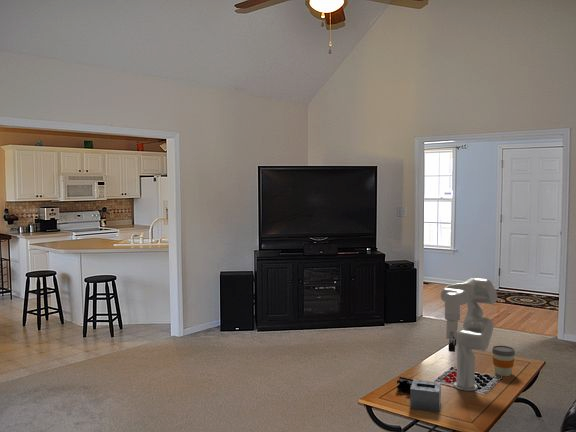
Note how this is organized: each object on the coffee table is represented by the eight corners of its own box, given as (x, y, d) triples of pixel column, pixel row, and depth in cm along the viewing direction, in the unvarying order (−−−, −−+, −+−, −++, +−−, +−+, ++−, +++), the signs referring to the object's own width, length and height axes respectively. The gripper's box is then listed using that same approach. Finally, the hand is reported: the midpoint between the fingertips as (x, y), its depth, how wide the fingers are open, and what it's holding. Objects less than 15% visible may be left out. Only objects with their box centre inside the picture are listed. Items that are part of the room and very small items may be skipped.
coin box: (413, 397, 280) (413, 379, 280) (440, 401, 276) (440, 382, 275) (410, 408, 267) (410, 388, 267) (439, 412, 263) (439, 392, 262)
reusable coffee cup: (492, 368, 325) (493, 344, 325) (515, 371, 320) (515, 347, 319) (490, 375, 314) (491, 350, 313) (513, 378, 309) (514, 352, 308)
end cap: (418, 391, 290) (418, 379, 290) (413, 395, 284) (413, 382, 284) (401, 387, 296) (401, 375, 296) (396, 391, 290) (396, 378, 290)
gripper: (446, 311, 284) (446, 342, 286) (443, 320, 268) (443, 353, 270) (460, 312, 282) (460, 343, 283) (459, 321, 266) (459, 354, 267)
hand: (452, 348), depth 276 cm, fingers open, 9 cm apart
